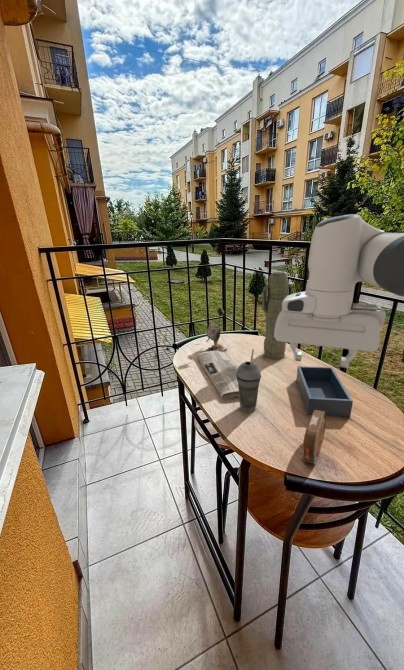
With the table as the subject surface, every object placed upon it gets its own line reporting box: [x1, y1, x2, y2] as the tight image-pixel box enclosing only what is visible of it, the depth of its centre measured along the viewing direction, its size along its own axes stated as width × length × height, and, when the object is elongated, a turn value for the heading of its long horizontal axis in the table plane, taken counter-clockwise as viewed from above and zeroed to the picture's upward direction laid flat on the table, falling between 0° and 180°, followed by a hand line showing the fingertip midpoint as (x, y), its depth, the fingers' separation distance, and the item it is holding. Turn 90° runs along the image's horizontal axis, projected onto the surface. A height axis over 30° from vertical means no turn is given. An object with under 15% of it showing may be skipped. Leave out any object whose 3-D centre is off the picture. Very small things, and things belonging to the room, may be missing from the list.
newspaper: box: [196, 350, 239, 400], centre depth 106 cm, size 35×12×4 cm, turn 15°
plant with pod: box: [205, 306, 228, 352], centre depth 126 cm, size 8×11×20 cm
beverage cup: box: [236, 348, 262, 414], centre depth 82 cm, size 7×7×20 cm
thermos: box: [261, 271, 294, 361], centre depth 115 cm, size 9×12×35 cm
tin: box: [302, 410, 327, 465], centre depth 68 cm, size 15×3×8 cm, turn 148°
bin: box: [296, 365, 354, 418], centre depth 89 cm, size 12×21×6 cm, turn 171°
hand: (320, 363), depth 62 cm, fingers open, 8 cm apart
